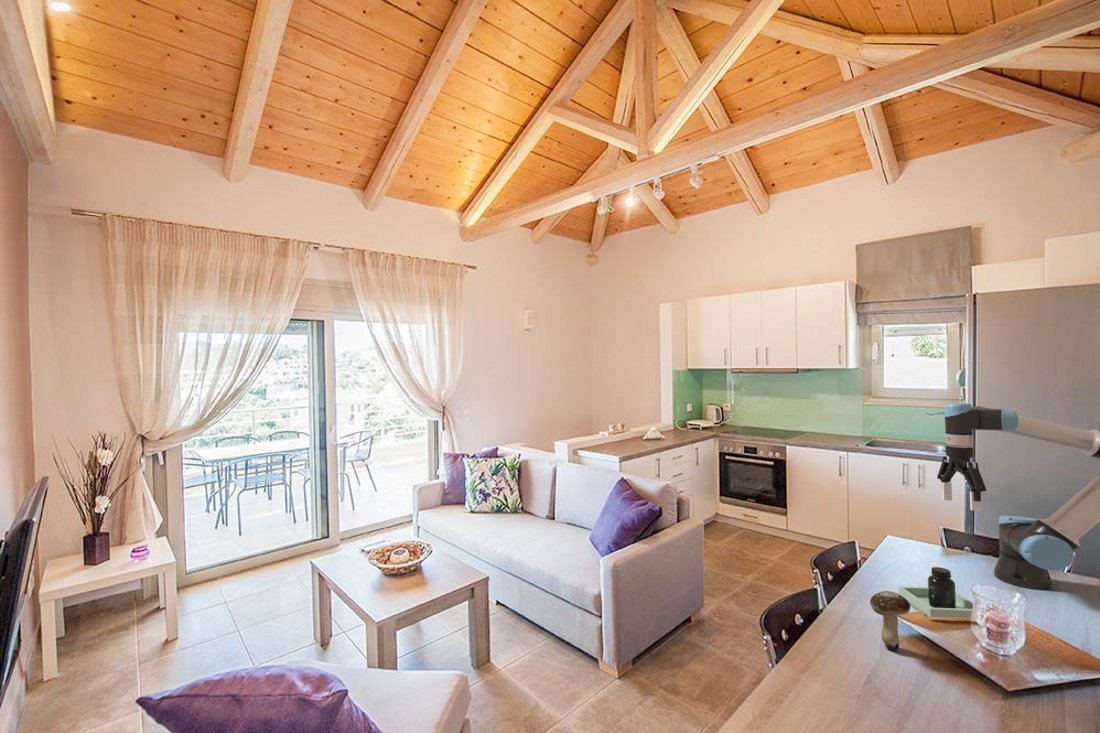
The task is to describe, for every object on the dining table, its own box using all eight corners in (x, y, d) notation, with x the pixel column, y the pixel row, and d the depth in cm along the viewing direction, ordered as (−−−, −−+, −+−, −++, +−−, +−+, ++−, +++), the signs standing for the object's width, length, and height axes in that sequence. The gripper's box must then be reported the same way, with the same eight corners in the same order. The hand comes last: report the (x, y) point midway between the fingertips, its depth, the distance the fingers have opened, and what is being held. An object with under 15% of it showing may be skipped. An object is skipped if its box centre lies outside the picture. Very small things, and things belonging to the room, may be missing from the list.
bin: (949, 598, 162) (948, 588, 162) (987, 622, 146) (986, 611, 146) (898, 596, 164) (898, 586, 164) (930, 620, 148) (930, 609, 148)
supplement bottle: (923, 602, 158) (922, 565, 158) (944, 602, 158) (943, 565, 158) (939, 612, 151) (938, 574, 151) (961, 612, 151) (960, 574, 151)
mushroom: (905, 643, 136) (903, 589, 136) (917, 660, 128) (915, 603, 128) (866, 637, 139) (865, 585, 139) (875, 654, 131) (874, 598, 131)
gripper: (924, 441, 185) (926, 496, 185) (974, 451, 161) (976, 514, 160) (945, 441, 185) (947, 496, 184) (999, 451, 160) (1001, 515, 159)
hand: (960, 505), depth 172 cm, fingers open, 13 cm apart
